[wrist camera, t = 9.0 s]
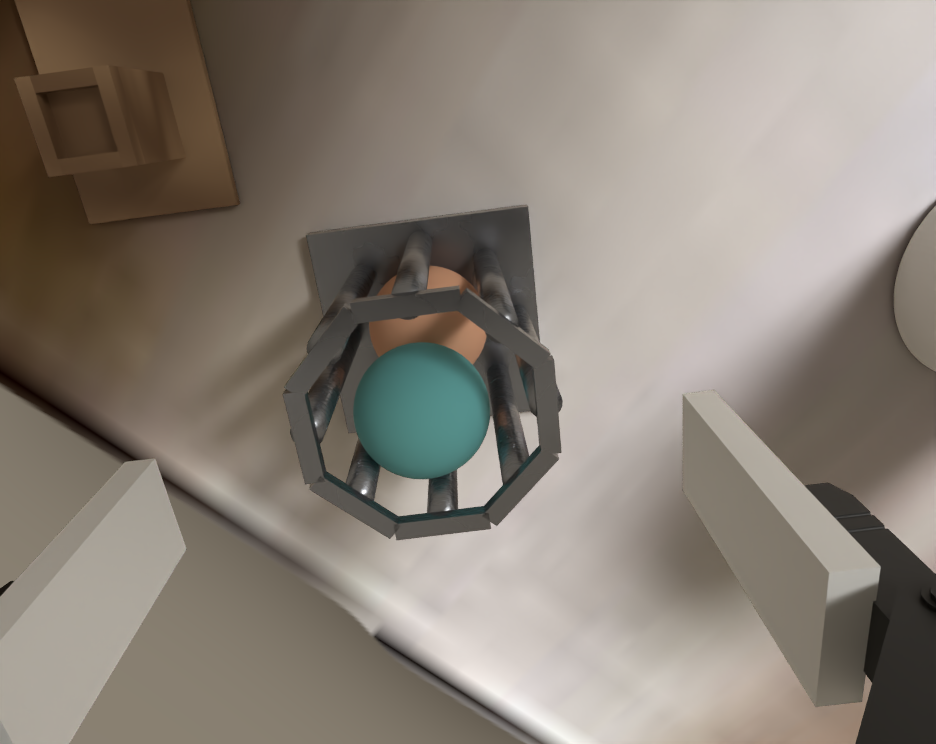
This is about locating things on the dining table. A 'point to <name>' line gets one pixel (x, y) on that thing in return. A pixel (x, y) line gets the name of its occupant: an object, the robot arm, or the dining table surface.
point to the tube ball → (431, 322)
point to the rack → (125, 106)
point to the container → (918, 293)
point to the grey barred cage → (356, 304)
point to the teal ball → (421, 410)
